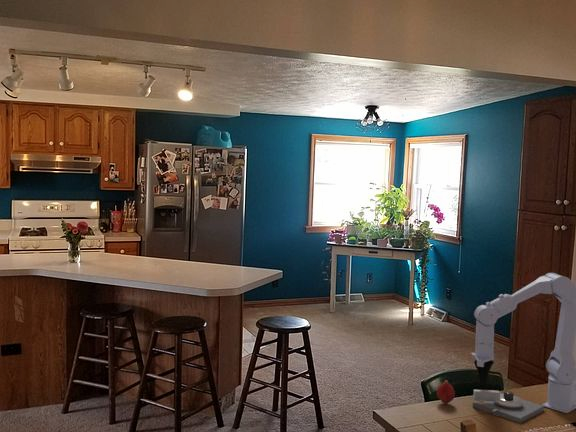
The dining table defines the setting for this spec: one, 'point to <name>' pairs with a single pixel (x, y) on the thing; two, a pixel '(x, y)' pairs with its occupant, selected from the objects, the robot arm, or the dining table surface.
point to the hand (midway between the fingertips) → (483, 382)
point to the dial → (499, 398)
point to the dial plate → (510, 410)
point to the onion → (445, 392)
